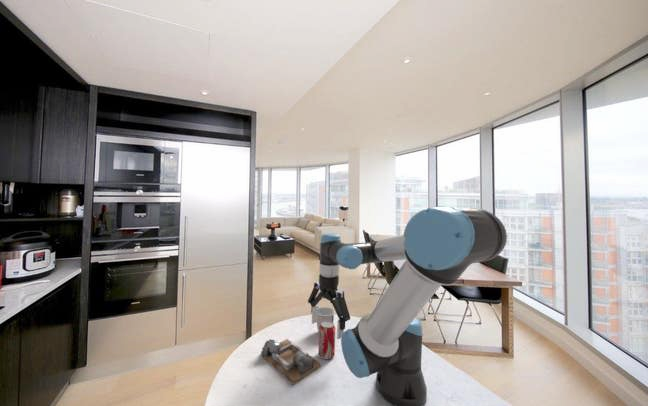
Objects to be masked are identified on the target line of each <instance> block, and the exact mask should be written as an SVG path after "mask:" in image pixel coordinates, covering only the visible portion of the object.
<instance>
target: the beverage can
mask: <svg viewBox="0 0 648 406" xmlns="http://www.w3.org/2000/svg"><path fill="white" fill-rule="evenodd" d="M336 331H337V329H336V326H335V323H334V321H333V322H331V321H323V322H322V323H321V325H320V327H319V332H318V356H319V357H321V358H322V359H323V360H329V359H333V358H334V356H335V354H336V353H335V352H336Z"/></svg>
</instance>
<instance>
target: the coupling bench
mask: <svg viewBox="0 0 648 406" xmlns="http://www.w3.org/2000/svg"><path fill="white" fill-rule="evenodd" d="M279 343H282V348H281V350H280V355H278V354H275V353H272V354H270V355H269V356H268V357H267V358H266V357H263V358H264V359H265V360H266V361H267V362H268V363H270V364H271V365H272V366H273V367H274V368H275V369H276V370H277V371H278V372H279V373H280V374H281V375H283V377H284V378H285V379H286V380H288V381H289V382H290V384H292V385H293V386H294V385H296V384H297V383H299V382H300V381H301V380H303V379H304V378H306V377H308V376H309V375H311V374H312V373H314V372H315V371H317V370H318V369H320V368H321V367H322V366H321V365H322V364H321V362H319V361H318V360H316V359H315V357H313V356H312V355H310V354H309V353H308V352H307V351H305V350H304V349H303V348H302V347H301V346H298V344H296V343H294V341H290V340H289V339H288V338H286V339H284V340H283V341H280V342H279ZM260 353H261V356H262V350H261V352H260Z"/></svg>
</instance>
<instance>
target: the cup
mask: <svg viewBox="0 0 648 406" xmlns="http://www.w3.org/2000/svg"><path fill="white" fill-rule="evenodd" d="M334 319H335V309H334V308H331V307H329V306H328V307H327V306H322V307H318V322H316V325H317V326H316V328H317V332H318V333H319V327H320V325H321V323H322V322H323V321H331V322H333V323H334Z"/></svg>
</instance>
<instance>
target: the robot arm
mask: <svg viewBox="0 0 648 406" xmlns="http://www.w3.org/2000/svg"><path fill="white" fill-rule="evenodd" d="M341 241H342V240H341V235H340V234H338V233H323V234H322V235H321V236H320V243H319V246H320V247H319V267H318V268H319V270H318V271H319V275H318V281H317V282H314V283H313V288H312V290H311V293H310V295H309V297H308V299H307V303H308V304H310V307H311V309H310V310H311V311H310V312H311V324H314V325H315V324H317V322H318V308H319V305H318V304H319V302H320V301H321V300H322V299H326V300H328V301H329V302H330V304H332V307H333V310H334V312H335V313H336V315H337V318H338V320H337V325H336V326H337V329H336V339H338V340H340V344H341V352H342V355H343V359H344V361H345V363H346V365H347V367H348V370H349V371H350V373H352V374H353V376H355V377H356V378H358V379H363V378H365V377H366V378H368V377H370V376H372V375H374V374H376V377H375V386H376V389H377V391H378V393H379V394H380V396H381V397H382V398H383V399H384V400H385V401H386V402H388V403H389V404H390V405H394V406H424V405H425V403H426V401H427V396H428V394H427V391H428V390H427V385H426V381H425V376H424V374H423V370H422V357H423V356H422V353H423V350H422V349H423V336H424V334H423V324H422V322H421V321H420V320H419V318H418V317H417V316H418V315H419V314H420V312H421V311H422V310H423V308H424V307H425V306H426V305H427V304H428V302H429V301H430V300H431V298H432V297H433V296H434V294H436V292H437V291H438V290H439V289H440V288H441V287H442V286H451V285H454V284H455V283H456V282H457V281H458V279H459V278H460V277H461V276H462V275H463V274H464V272H466V270H467V269H468V268H469V267H470V266H471V265H472V264H476V263H482V262H488V261H490V260H493V259H494V258H496V257H497V256H498V255H500V254H501V253H502V252H503V250H504V249H505V247H506V245H507V241H508V233H507V230H506V227H505V225H504V224H503V222H502V220H501V219H500V218H498V217H497V216H496V215H495V214H493V213H492V212H490V211H488V210H485V209H481V208H475V207H465V208H464V207H452V206H446V205H445V206H444V205H441V206H440V205H439V206H435V207H429V208H425V209H424V208H423V209H422V210H419V211H418V212H417V213H415V214H414V215H413V216H411V218H409V220H408V222H407V223H406V225H405V228H404V232H403V234H402V235H397V236H393V237H389V238H384V239H380V240H375V241H369V242H356V243H355V242H353V243H344V242H341ZM393 261H394V262H395V261H404V262H403V264H402V265H401V267H400V268H399V270H398V271H397V273H396V274H395V276H394V277H393V279H392V280H391V283H390V284H389V285H388V287H387V288H386V290H385V292H384V294H383V295H382V296H381V298H380V299H379V301H378V303H377V304H376V305H375V306H374V309H373V310H372V312H371V313H367V314H364V315H363V316H362V317H361V318H360V320H359V321H358V323H357V324H356V326H355V327H353V328H348V329H347V330H345V329H346V322H348V321H350V320H351V316H350V312H349V307H348V305H347V302H346V298H345V291H344V290H342V291H340V290H338V286H339V279H340V275H339V274H340V267H343V268H344V269H348V270H355V269H357V268H358V267H360V266H361V265H367V264H376V263H379V264H380V263H385V262H393ZM319 291H320V292H319Z"/></svg>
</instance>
